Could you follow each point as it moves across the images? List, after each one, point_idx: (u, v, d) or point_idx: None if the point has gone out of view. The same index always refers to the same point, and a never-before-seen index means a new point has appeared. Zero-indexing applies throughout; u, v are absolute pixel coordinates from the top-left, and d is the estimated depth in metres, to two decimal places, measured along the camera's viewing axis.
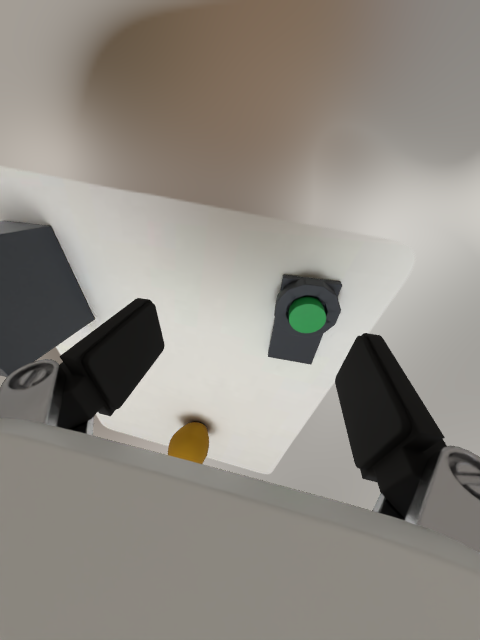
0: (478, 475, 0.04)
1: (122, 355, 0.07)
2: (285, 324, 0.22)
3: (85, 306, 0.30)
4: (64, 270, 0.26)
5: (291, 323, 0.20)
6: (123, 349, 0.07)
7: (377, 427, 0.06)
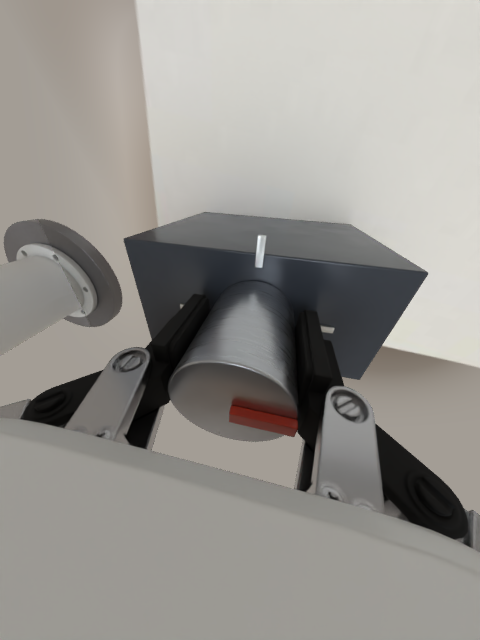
0: (350, 401, 0.06)
1: None
2: None
3: (320, 222, 0.17)
4: (255, 217, 0.18)
5: None
6: (190, 340, 0.08)
7: (298, 380, 0.07)
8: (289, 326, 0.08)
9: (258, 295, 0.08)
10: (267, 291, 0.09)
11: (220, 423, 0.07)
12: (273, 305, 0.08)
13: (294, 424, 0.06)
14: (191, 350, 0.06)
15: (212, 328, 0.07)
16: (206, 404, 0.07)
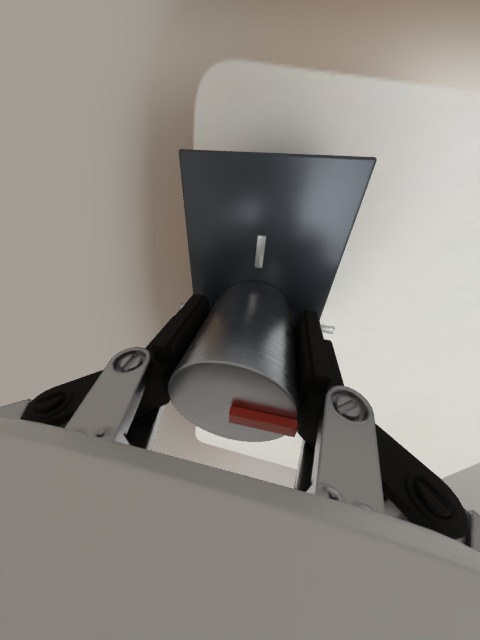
0: (350, 401, 0.06)
1: None
2: None
3: None
4: None
5: None
6: (191, 340, 0.08)
7: (298, 380, 0.07)
8: (289, 326, 0.08)
9: (258, 294, 0.08)
10: (266, 291, 0.09)
11: (220, 423, 0.07)
12: (272, 305, 0.08)
13: (294, 424, 0.06)
14: (190, 351, 0.06)
15: (211, 328, 0.07)
16: (206, 405, 0.07)
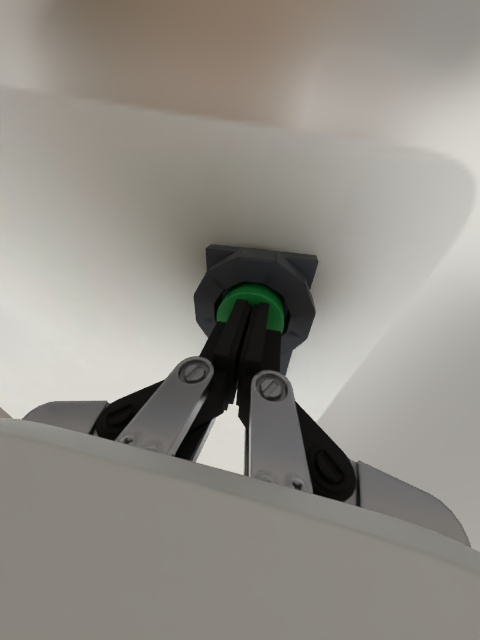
0: (273, 382, 0.06)
1: (240, 353, 0.08)
2: None
3: None
4: None
5: None
6: (241, 347, 0.08)
7: None
8: None
9: None
10: None
11: None
12: None
13: None
14: None
15: None
16: None
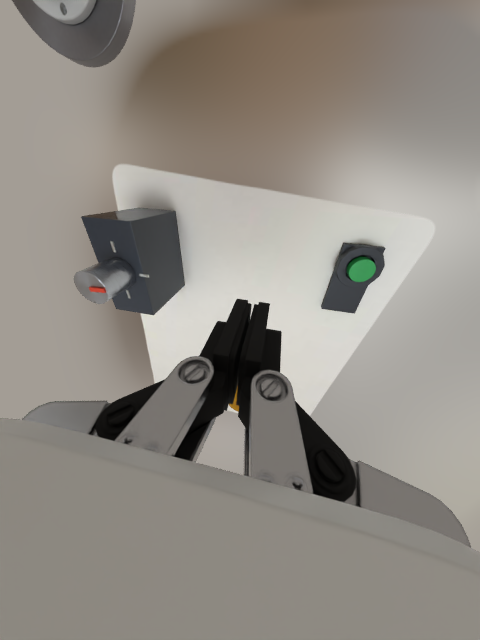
0: (273, 382, 0.06)
1: (240, 353, 0.08)
2: (343, 278, 0.32)
3: (182, 273, 0.40)
4: (177, 244, 0.36)
5: (350, 275, 0.30)
6: (241, 347, 0.08)
7: None
8: (117, 269, 0.25)
9: (110, 260, 0.26)
10: (115, 259, 0.26)
11: (92, 296, 0.25)
12: (112, 263, 0.25)
13: (103, 288, 0.23)
14: None
15: None
16: (85, 288, 0.24)
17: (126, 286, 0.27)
